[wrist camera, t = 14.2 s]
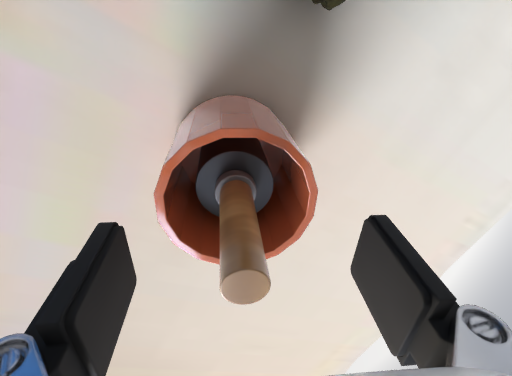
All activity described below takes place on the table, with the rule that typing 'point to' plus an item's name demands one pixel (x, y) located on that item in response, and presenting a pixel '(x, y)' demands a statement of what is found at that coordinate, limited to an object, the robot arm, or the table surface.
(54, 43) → the table surface
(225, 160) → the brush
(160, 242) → the table surface
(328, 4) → the stone
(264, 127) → the tumbler
